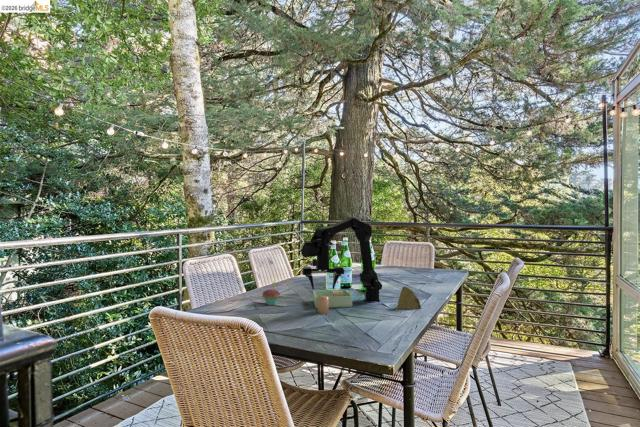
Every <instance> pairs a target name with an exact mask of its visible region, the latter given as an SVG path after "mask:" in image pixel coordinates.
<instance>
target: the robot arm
mask: <svg viewBox="0 0 640 427" xmlns="http://www.w3.org/2000/svg"><path fill="white" fill-rule="evenodd" d="M347 229H350V230H352V231H353V232H354V234H355V238H356V239H357V240H358V242H359V248H360V256H361V263H362V264H361V265H362V270H361V272H360V273H359V281H360V283H361V284H362V287H363V288H364V289H365V291H364V300H365V301H366V302H367V303H379V302H381V299H380V290H382V289H383V283H381V281H380V280H379V278H378V274H377V272H376V270H375V269H374V266H373V265H374V264H373V259H372V258H373V257H372V251H371V242H370V240H371V239H372V234H373V233H372V232H373V231H372V226H371V225H370V224H369V223H366V222H364V221H361V220H359V219H358V218H357V217H351V216H350V217H347V218H345V219H343V220H341V221H339V222H336V223H333V224H331V225H329V226H328V225H327V226H320V227H317V228H316V229H315V231H314V233H313V235H312V237H311V239H310V240H309V241H304V242H303V245H302V246H301V249H300V252H301V256H302V257H303V258H312V257H313V259H312V261H311V262H312V264H311V265H312V267H315V268H312V267H311V266H303V267H302V269H301V270H302V273H301V274H302V275H303V276H305V278H308V280H309V282H310V286H311V288H312V290H313V291H315V290H314V289H315V287H314V277H313V274H319V273H321V274H322V273H323V274H324V273H327V274H328V273H333V274H332V275H333V276H332V278H333V279H332V290H335V287H336V284H337V282H338V280H339V278H340V277H342V275H344V274H345V269H344V267H343V266H341V265H339V266H338V265H337V266H335V265H334V266H333V268H332V267H331V268H330V246H333V245H334V243H333V242H332V241H331V239H332V238H334V237H335V236H336V234H338V233H340V232H343V231H346V230H347ZM314 257H316V258H314Z"/></svg>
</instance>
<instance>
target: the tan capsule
mask: <svg viewBox="0 0 640 427" xmlns="http://www.w3.org/2000/svg"><path fill="white" fill-rule="evenodd" d="M317 313H318V314H322V315H325V314H328V313H330V308H329V297H328V296H318V308H317Z"/></svg>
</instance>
